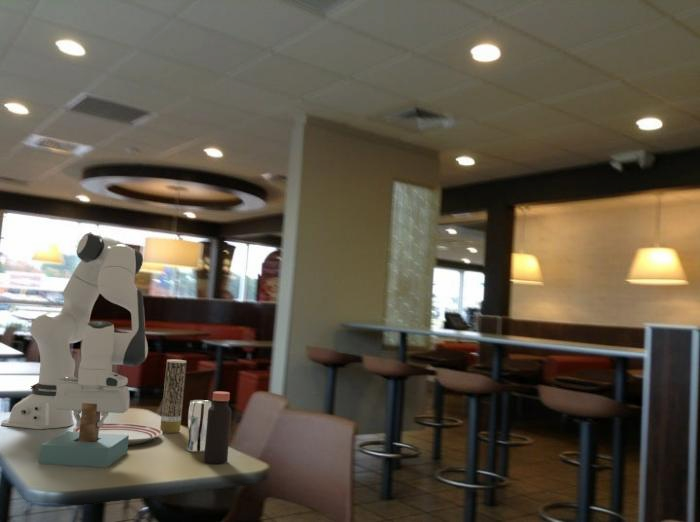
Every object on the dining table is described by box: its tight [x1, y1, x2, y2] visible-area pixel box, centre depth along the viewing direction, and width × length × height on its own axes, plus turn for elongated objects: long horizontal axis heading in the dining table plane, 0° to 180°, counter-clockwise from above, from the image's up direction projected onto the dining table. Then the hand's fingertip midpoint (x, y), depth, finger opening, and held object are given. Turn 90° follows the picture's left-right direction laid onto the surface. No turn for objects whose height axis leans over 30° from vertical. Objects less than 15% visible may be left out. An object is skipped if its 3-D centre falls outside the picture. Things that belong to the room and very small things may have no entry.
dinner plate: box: [72, 422, 164, 446], centre depth 200 cm, size 28×27×3 cm
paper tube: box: [159, 359, 187, 434], centre depth 217 cm, size 7×7×25 cm
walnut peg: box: [78, 403, 101, 442], centre depth 174 cm, size 4×4×12 cm
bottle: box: [203, 390, 233, 465], centre depth 180 cm, size 7×7×20 cm
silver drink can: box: [186, 399, 212, 453], centre depth 193 cm, size 7×7×15 cm
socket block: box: [38, 431, 129, 468], centre depth 174 cm, size 18×18×5 cm
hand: (89, 427), depth 174 cm, fingers closed on walnut peg, 4 cm apart
